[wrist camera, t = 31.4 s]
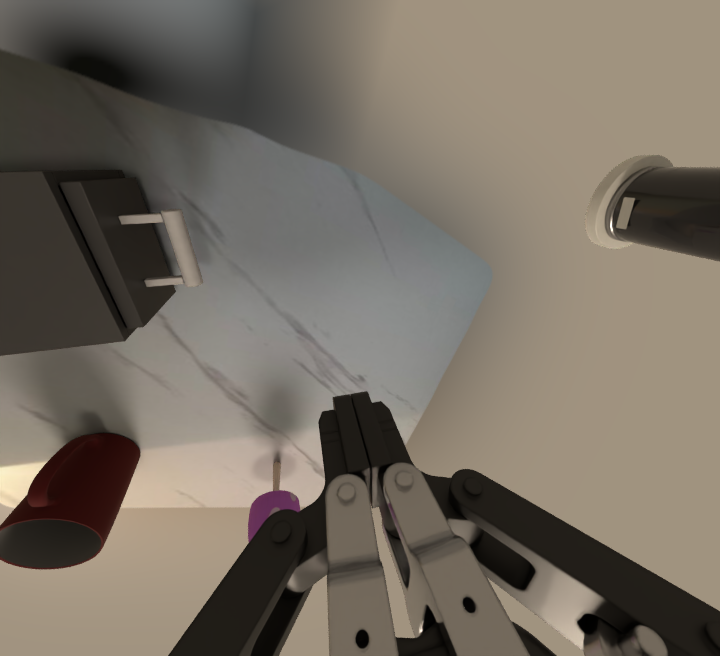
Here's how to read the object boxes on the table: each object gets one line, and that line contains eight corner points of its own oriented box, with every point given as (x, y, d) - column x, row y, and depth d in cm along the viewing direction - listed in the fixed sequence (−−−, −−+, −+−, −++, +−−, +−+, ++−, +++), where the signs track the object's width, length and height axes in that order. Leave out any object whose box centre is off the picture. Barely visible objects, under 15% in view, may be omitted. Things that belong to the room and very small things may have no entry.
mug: (49, 409, 34) (-43, 503, 24) (138, 408, 36) (86, 493, 27) (74, 477, 39) (7, 575, 30) (150, 472, 42) (110, 561, 32)
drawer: (190, 176, 26) (155, 179, 19) (220, 287, 31) (201, 320, 24) (-44, 182, 23) (-183, 189, 16) (33, 304, 28) (-48, 348, 21)
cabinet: (122, 169, 25) (41, 170, 17) (168, 294, 31) (125, 341, 22) (-74, 174, 23) (-279, 178, 14) (16, 309, 28) (-96, 367, 20)
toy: (285, 481, 49) (285, 593, 36) (247, 473, 46) (231, 592, 33) (306, 455, 47) (312, 564, 34) (267, 445, 44) (258, 560, 31)
